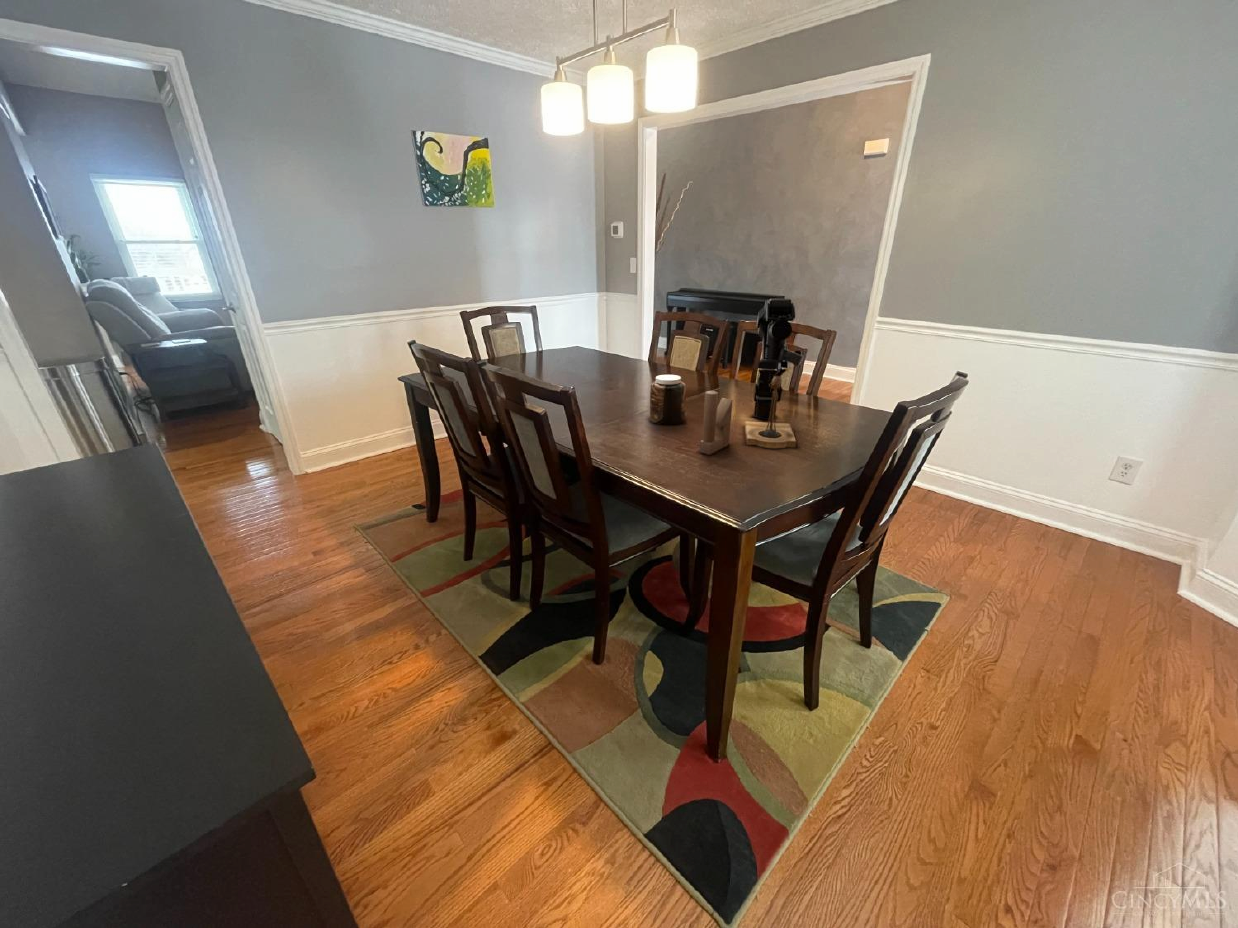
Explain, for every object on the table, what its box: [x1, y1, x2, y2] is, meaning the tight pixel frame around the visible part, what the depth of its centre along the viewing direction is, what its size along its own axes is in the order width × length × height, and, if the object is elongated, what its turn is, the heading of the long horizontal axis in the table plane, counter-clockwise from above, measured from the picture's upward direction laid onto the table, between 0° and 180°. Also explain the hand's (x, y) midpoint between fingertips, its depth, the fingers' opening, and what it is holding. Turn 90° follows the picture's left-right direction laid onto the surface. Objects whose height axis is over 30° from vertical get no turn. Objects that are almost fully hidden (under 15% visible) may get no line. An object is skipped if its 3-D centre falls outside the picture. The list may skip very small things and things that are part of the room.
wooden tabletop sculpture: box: [762, 376, 783, 438], centre depth 148 cm, size 6×5×20 cm
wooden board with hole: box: [744, 421, 797, 449], centre depth 153 cm, size 18×14×2 cm
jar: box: [649, 374, 687, 426], centre depth 167 cm, size 12×12×15 cm
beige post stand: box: [699, 390, 733, 456], centre depth 142 cm, size 4×11×18 cm, turn 138°
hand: (771, 391), depth 156 cm, fingers open, 9 cm apart
